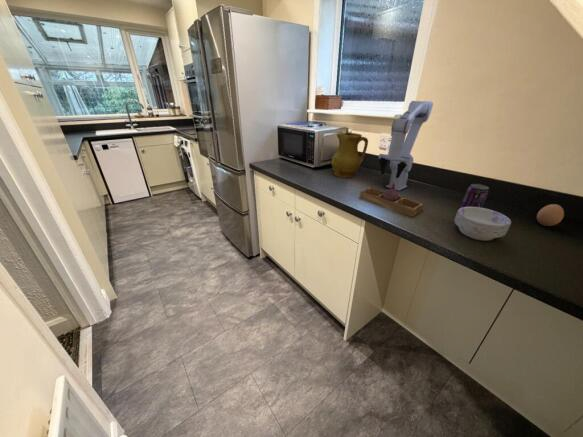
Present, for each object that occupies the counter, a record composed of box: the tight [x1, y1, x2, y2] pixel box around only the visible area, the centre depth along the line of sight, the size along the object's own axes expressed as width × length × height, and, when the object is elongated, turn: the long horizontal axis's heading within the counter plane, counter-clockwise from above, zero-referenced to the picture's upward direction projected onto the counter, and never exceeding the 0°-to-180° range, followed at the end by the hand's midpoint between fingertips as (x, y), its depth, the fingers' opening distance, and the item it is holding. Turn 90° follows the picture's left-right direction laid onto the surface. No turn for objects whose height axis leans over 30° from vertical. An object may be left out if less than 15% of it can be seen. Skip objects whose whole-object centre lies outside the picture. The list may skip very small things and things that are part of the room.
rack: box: [359, 187, 424, 218], centre depth 107 cm, size 9×26×4 cm, turn 41°
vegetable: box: [383, 182, 399, 202], centre depth 105 cm, size 6×6×10 cm
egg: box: [536, 203, 565, 227], centre depth 90 cm, size 7×7×9 cm
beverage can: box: [459, 183, 490, 209], centre depth 98 cm, size 7×7×12 cm
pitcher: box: [331, 131, 369, 179], centre depth 140 cm, size 17×19×25 cm
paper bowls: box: [454, 207, 512, 242], centre depth 83 cm, size 15×15×8 cm
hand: (389, 175), depth 113 cm, fingers open, 7 cm apart
